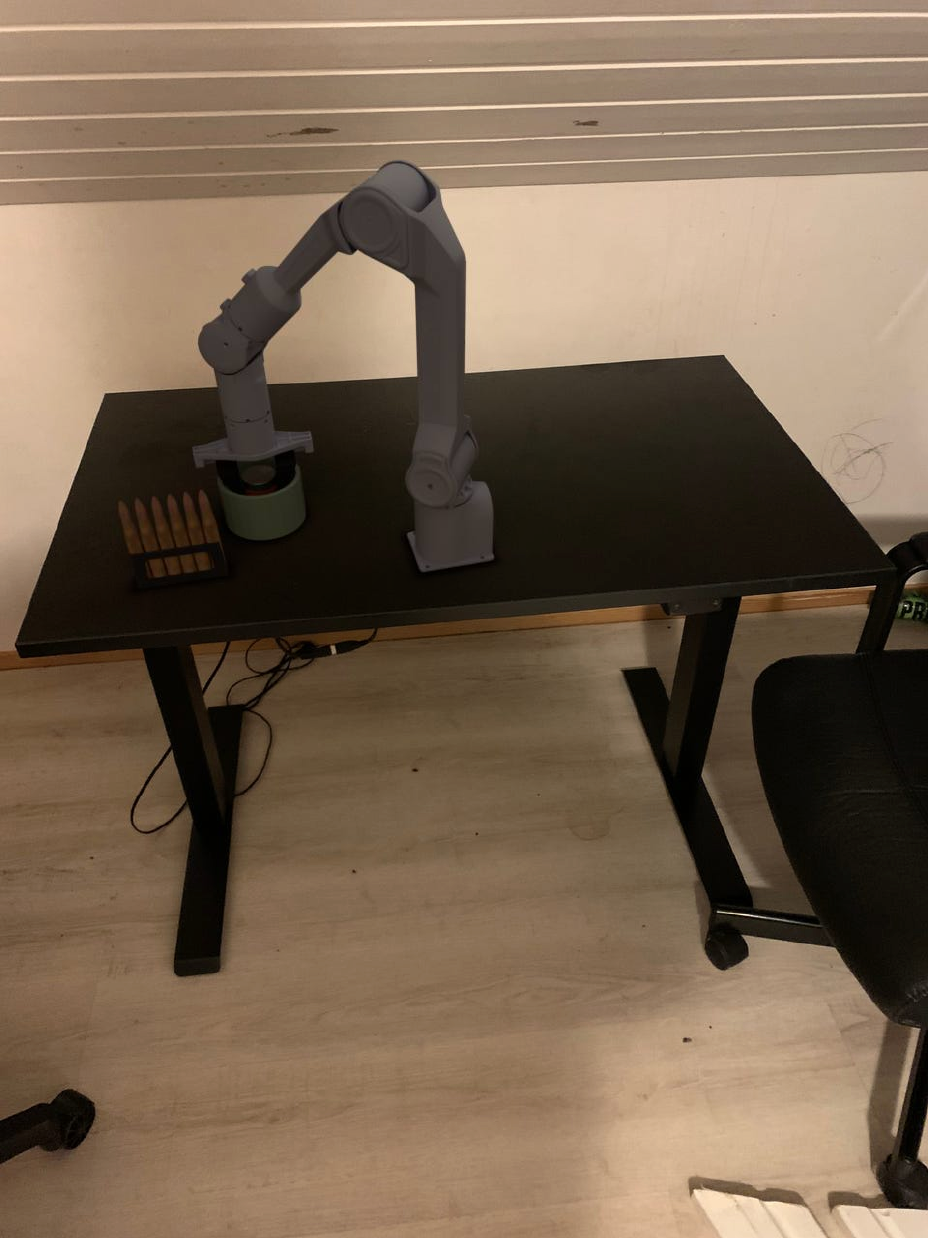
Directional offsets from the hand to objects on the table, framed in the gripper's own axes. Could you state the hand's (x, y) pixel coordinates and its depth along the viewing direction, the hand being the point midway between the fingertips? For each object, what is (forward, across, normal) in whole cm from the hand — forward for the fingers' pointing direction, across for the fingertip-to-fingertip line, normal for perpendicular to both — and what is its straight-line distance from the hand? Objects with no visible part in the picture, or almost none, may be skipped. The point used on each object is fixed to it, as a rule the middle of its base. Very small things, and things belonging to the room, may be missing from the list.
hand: (264, 504), depth 113 cm
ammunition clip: (+2, +11, +10) cm, 15 cm away
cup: (+2, 0, 0) cm, 2 cm away
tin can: (+1, 0, 0) cm, 1 cm away
